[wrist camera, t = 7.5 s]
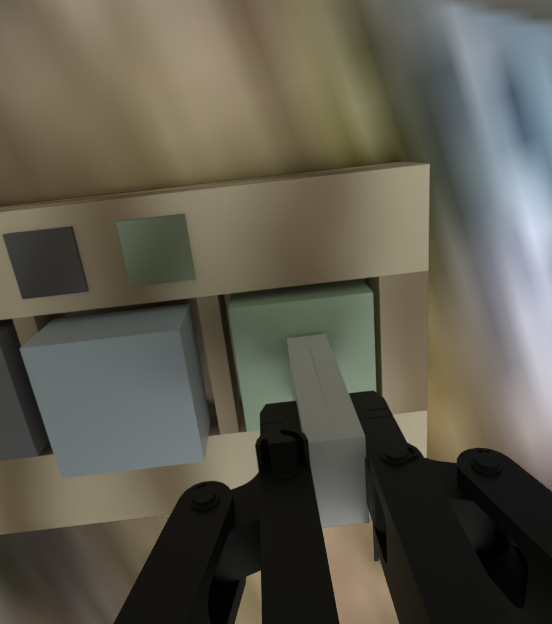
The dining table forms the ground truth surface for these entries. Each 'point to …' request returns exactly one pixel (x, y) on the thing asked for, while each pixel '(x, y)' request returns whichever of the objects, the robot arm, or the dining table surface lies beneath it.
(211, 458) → the keypad
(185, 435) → the key slate
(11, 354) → the key charcoal
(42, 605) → the dining table surface
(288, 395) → the key sage
